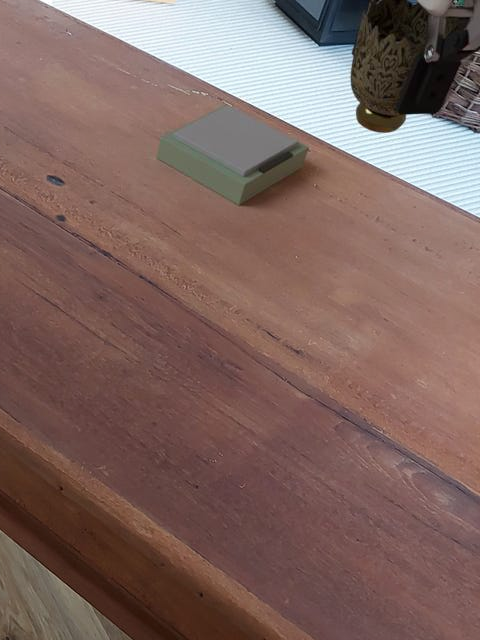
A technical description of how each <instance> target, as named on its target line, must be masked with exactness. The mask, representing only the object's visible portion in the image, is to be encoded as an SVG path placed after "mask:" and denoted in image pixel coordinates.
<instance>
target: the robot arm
mask: <svg viewBox="0 0 480 640" xmlns="http://www.w3.org/2000/svg"><path fill="white" fill-rule="evenodd" d="M373 1H374V2H376V3H377V2H378V1H379V0H373ZM393 1H394V2H395V3H396V4H397V5H398V4H399V2H400V1H401V0H393ZM407 1H408V6H409V10H410V9H411V7H412V6H413V5H414V4H413V3H412V2H411V1H410V0H407ZM415 1H416V2H417V3H419V4H420V5H421V6H422V7H423V8H424V9H425V10H427V11H428V12H429V20H428V28H427V36H426V43H425V51H424V55H416V58H415V60H414V62H413V65H412V67H411V70H410V72H409V75H408V77H407V80H406V82H405V85H404V87H403V89H402V92H401V94H400V97H399V99H398V102H397V104H396V110H397V112H398V113H399V114H400V115H406V116H407V115H434V114H437V113H438V112H440V111H441V109H442V107H443V105H444V102H445V100H446V98H447V96H448V94H449V92H450V90H451V87H452V85H453V83H454V80H455V78H456V76H457V74H458V71H459V69H460V67H461V64H462V63H463V62H468V61H469V60H470V59H471V57H472V55H473V54H474V53H476V52H478V51H480V0H463V5H462V6H459V7H458V6H456V7H455V6H453V7H451V5H452V2H453V0H415ZM370 2H371V1H369V2H368V4H367V7H366V10H365V11H366V13H367V10H368V6H369V4H370ZM447 19H454V20H458V19H459V25H458V30H457V31H455V32H454V33H452V34H451V35H449V36H447V37H446V38H444V32H445V24H446V20H447ZM358 34H359V32H358V33H357V36H356V39H355V42H354V44H353V48H352V50H351V55H352V56H354V51H355V47H356V43H357V38H358Z"/></svg>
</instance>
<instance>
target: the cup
mask: <svg viewBox="0 0 480 640" xmlns="http://www.w3.org/2000/svg"><path fill="white" fill-rule="evenodd" d="M374 1H375V0H370V1H369V2H370V4H369V3H368V4H369V6H368V5H367V7H368V10H367V9H366V10H367V13H366V10H363V12H362V16H361V22H360V26H359V29H358V33H359V34H358V33H357V36H358V38H357V37H356V39H357V43H356V47H355V51H354V56H353V55H352V56H353V57H352V60H351V61H352V62H351V68H350V76H349V77H350V87H351V92H352V93H353V96H354V97H355V99H356V100H357V101H358V102H359V103H358V105H357V106H356V108H355V118H356V121H357V122H358V124H359V125H360V126H361V127H362V128H364V129H366V130H368V131H371V132H375V133H380V134H388V133H393V132H395V131H397V130H399V129H400V128H401V127H402V126H403V125H404V124H405V122H406V120H407V115H400V114H399V113H398V112H397V110H396V104H397V102H398V99H399V97H400V94H401V92H402V89H403V87H404V85H405V82H406V80H407V77H408V75H409V72H410V70H411V67H412V65H413V62H414V60H415V58H416V55H424V51H425V43H426V36H427V28H428V20H429V12H428V11H427V10H425V9H424V8H423V7H422V6H421V5H420V4H419V3H418V2H417V3H416V4H413V5H412V7H411V9H410V10H409V6H408V1H409V0H401V1H400V2H399V4H398V5H397V4H396V3H395V2H394V1H393V0H379V1H378V2H377V3H376V2H374ZM458 25H459V19H447V20H446V24H445V32H444V38H446V37H447V36H449V35H451V34H452V33H454V32H455V31H457V30H458Z"/></svg>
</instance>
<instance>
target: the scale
mask: <svg viewBox="0 0 480 640" xmlns="http://www.w3.org/2000/svg"><path fill="white" fill-rule="evenodd" d="M309 150H310V146H308V145H306V144H304V143H302V142H300V141H299V140H298V139H296V138H294V137H292V136H290V135H288V134H286V133H284V132H283V131H280V130H278V129H277V128H274V127H273V126H271V125H269V124H266V123H265V122H263V121H262V120H259V119H257V118H255V117H253V116H252V115H249V114H247V113H245V112H244V111H241V110H240V109H237V108H236V107H234V106H232V105H230V104H224V105H222V106H219V107H218V108H217V107H216V109H214V110H212V111H209V112H208V113H206V114H204V115H202V116H200V117H197V118H196V119H193V120H192V121H190V122H188V123H186V124H184V125H182V126H180V127H178V128H176V129H174V130H172V131H170V132H168V133H166V134H164V135H162V136H160V139H159V142H158V148H157V153H156V159H157V160H159V161H161V162H162V163H164V164H166V165H167V166H170V167H171V168H173V169H175V170H176V171H179V172H180V173H182V174H183V175H185V176H187V177H189V178H190V179H192V180H194V181H195V182H197V183H199V184H201V185H203V186H204V187H206V188H208V189H209V190H212V191H213V192H215V193H216V194H218V195H220V196H222V197H224V198H225V199H227V200H229V201H230V202H232V203H234V204H236V205H237V206H241V204H244V203H245V202H247V201H249V200H251V199H252V198H253V197H256V196H257V195H259V194H260V193H262V192H264V191H266V190H267V189H269V188H270V187H272V186H274V185H276V184H277V183H279V182H280V181H282V180H284V179H285V178H288V177H289V176H291V175H292V174H294V173H295V172H298V171H299V170H300V169H302V168H303V166H304V163H305V160H306V158H307V155H308V152H309Z"/></svg>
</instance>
